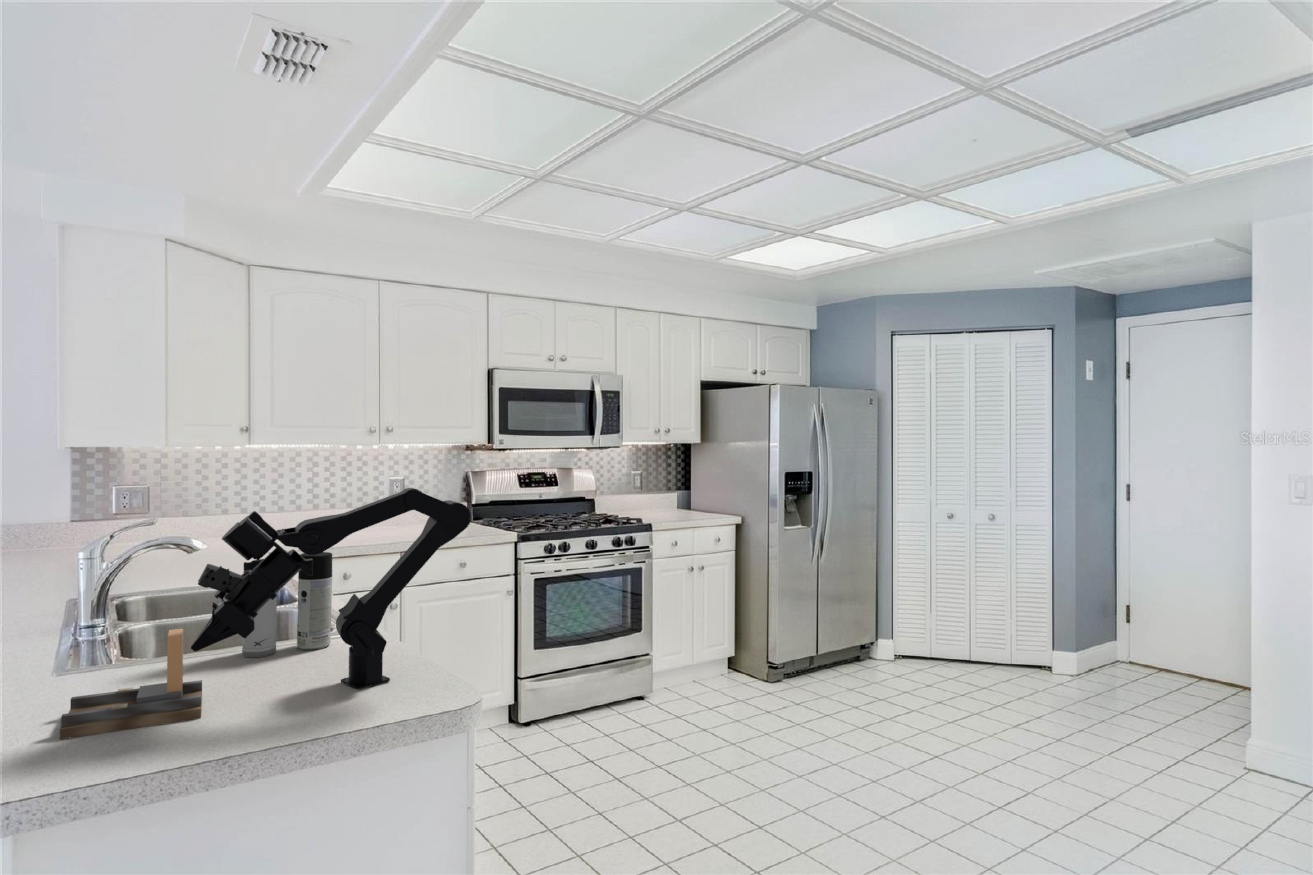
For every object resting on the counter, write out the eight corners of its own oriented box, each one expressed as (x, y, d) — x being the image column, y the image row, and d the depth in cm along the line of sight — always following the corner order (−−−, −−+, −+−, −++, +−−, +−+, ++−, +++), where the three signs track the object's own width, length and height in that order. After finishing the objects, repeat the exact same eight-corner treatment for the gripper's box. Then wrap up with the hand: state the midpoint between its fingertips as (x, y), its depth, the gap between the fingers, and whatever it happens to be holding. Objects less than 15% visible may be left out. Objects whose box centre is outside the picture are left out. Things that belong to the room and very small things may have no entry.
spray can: (303, 642, 165) (305, 551, 165) (335, 641, 166) (336, 551, 166) (291, 650, 159) (293, 556, 159) (325, 650, 159) (326, 556, 159)
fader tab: (182, 692, 128) (183, 627, 128) (181, 704, 122) (181, 636, 122) (139, 698, 125) (140, 631, 125) (136, 710, 119) (137, 641, 119)
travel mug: (263, 659, 153) (264, 560, 153) (234, 656, 154) (236, 559, 154) (284, 650, 159) (285, 555, 159) (256, 648, 160) (258, 554, 160)
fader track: (202, 695, 131) (202, 676, 131) (200, 717, 121) (201, 697, 121) (72, 713, 122) (73, 693, 122) (59, 739, 112) (59, 717, 112)
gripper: (230, 540, 136) (156, 607, 131) (232, 555, 120) (147, 632, 115) (278, 580, 140) (208, 647, 135) (286, 599, 124) (207, 676, 119)
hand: (192, 649), depth 126 cm, fingers closed
